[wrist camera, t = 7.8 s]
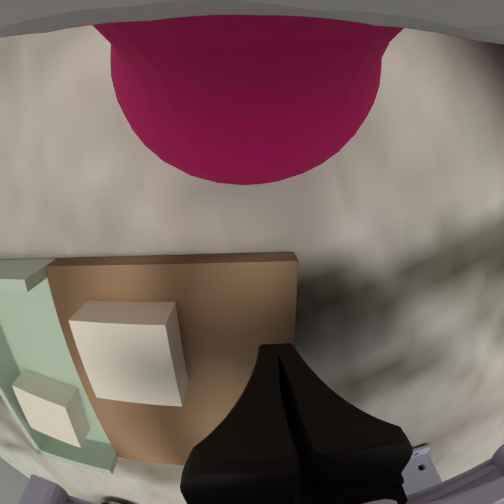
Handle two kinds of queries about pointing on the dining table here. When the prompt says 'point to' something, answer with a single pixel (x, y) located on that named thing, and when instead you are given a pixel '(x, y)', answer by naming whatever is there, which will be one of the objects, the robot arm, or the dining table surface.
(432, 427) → the dining table surface
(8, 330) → the tray
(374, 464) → the robot arm
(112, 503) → the beverage can
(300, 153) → the pepper mill
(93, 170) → the dining table surface
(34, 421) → the tile
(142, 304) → the tile
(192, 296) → the board
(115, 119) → the dining table surface
